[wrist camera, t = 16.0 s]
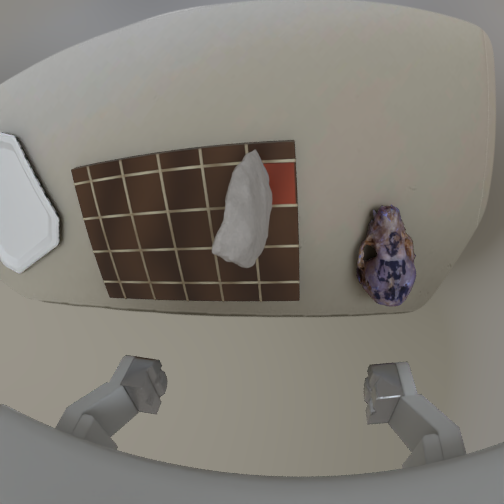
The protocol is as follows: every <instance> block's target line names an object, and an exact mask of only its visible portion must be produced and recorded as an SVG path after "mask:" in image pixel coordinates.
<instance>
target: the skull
mask: <svg viewBox="0 0 504 504" xmlns="http://www.w3.org/2000/svg"><path fill="white" fill-rule="evenodd" d="M373 216H374V221H373V220H371V222H370V223H369V225H368V226H369V228H368V230H367V237H366V239H365V240H364V241H363V242H362V243H361V245H360V248H359V254H358V260H357V266H358V267H357V278H358V279H359V282H360V284H362V285H363V288H364V290H365V291H366V292H367V293H368V294H369V295H370V297H371V298H372V299H373V300H374V301H375V302H376V303H378V304H381V305H386V306H398V305H401V304H402V303H403V302H404V301H405V300H406V298H407V297H408V295H409V293H410V291H411V289H412V287H413V284H414V282H415V278H416V269H415V266H414V259H415V257H416V255H415V254H414V251H413V241H412V239H411V238H410V236H408V235H407V234H406V232H405V230H406V229H405V227H404V223H403V222H402V219H401V216H400V212H399V209H398V208H397V207H394V206H393V205H391V206H385V207H383V205H382V206H381V207H380V208H379V210H378V213H376V211H375V210H374V209H373ZM365 245H371V246H372V247H373V248H374V249H375V250H376V252H377V256H376V257H373V258H371V259H369V260H367V261H364V259H363V258H364V252H363V250H364V247H365Z"/></svg>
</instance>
